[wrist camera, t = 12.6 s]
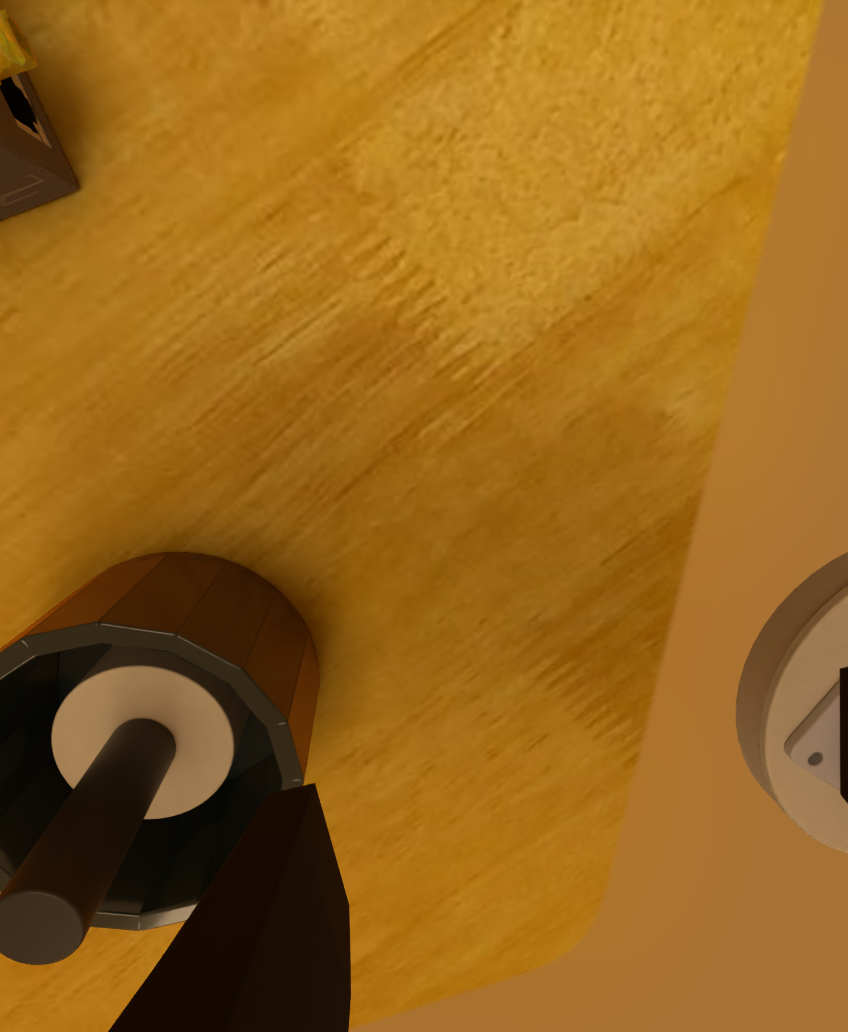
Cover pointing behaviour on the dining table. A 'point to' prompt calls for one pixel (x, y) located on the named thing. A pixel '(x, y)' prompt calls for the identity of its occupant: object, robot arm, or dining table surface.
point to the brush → (117, 787)
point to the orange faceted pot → (198, 640)
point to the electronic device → (25, 132)
